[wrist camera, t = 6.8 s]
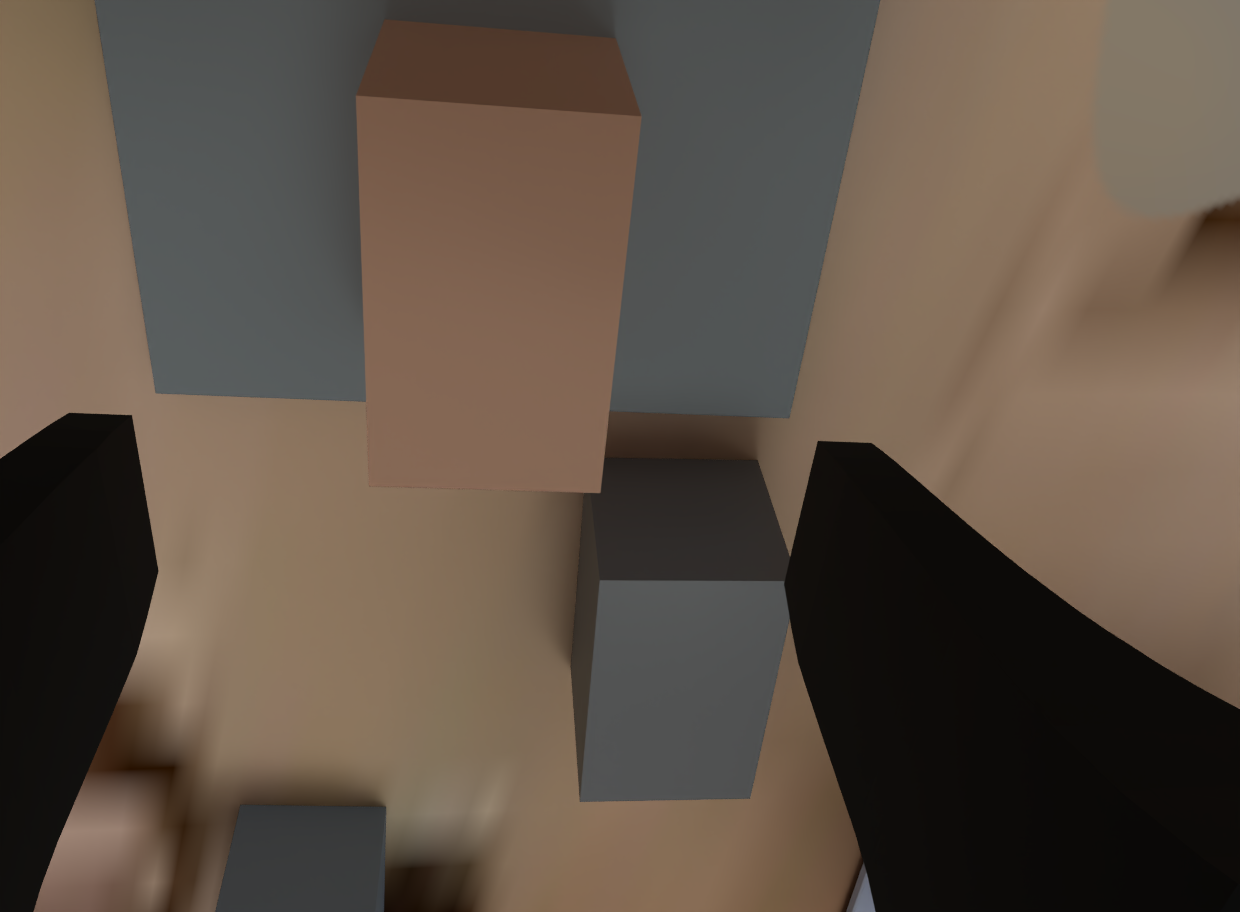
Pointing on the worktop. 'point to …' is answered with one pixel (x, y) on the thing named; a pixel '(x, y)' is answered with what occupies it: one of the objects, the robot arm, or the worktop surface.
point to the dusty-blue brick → (305, 860)
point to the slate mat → (329, 185)
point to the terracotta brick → (492, 253)
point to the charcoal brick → (676, 629)
